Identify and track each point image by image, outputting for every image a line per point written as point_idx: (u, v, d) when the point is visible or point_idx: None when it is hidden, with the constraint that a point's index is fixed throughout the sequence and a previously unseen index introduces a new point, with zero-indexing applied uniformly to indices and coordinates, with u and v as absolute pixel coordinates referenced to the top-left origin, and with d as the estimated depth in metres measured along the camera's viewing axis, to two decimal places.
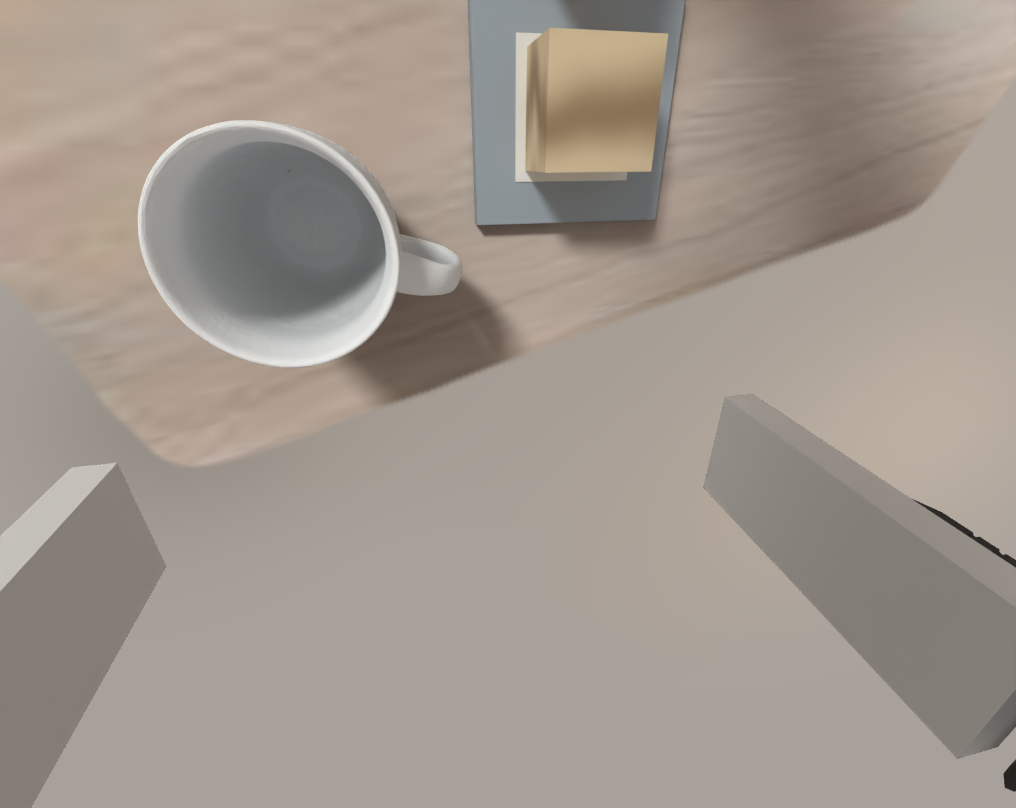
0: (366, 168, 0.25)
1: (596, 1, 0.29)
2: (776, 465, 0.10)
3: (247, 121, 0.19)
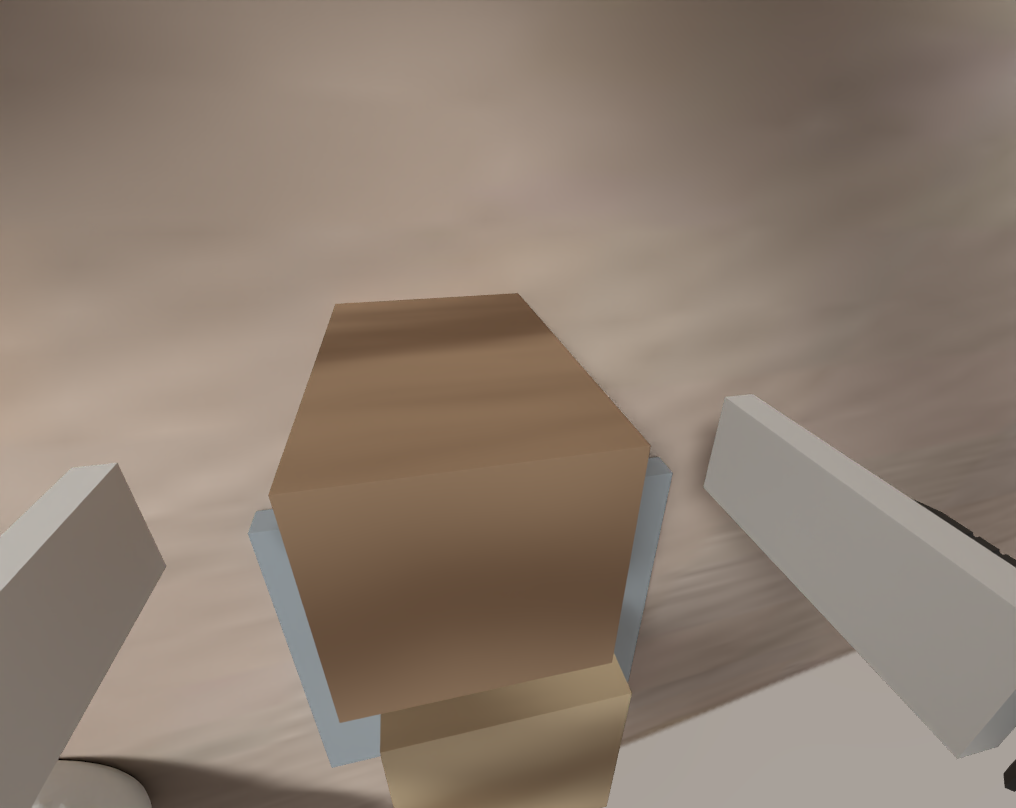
0: None
1: None
2: (776, 465, 0.10)
3: None
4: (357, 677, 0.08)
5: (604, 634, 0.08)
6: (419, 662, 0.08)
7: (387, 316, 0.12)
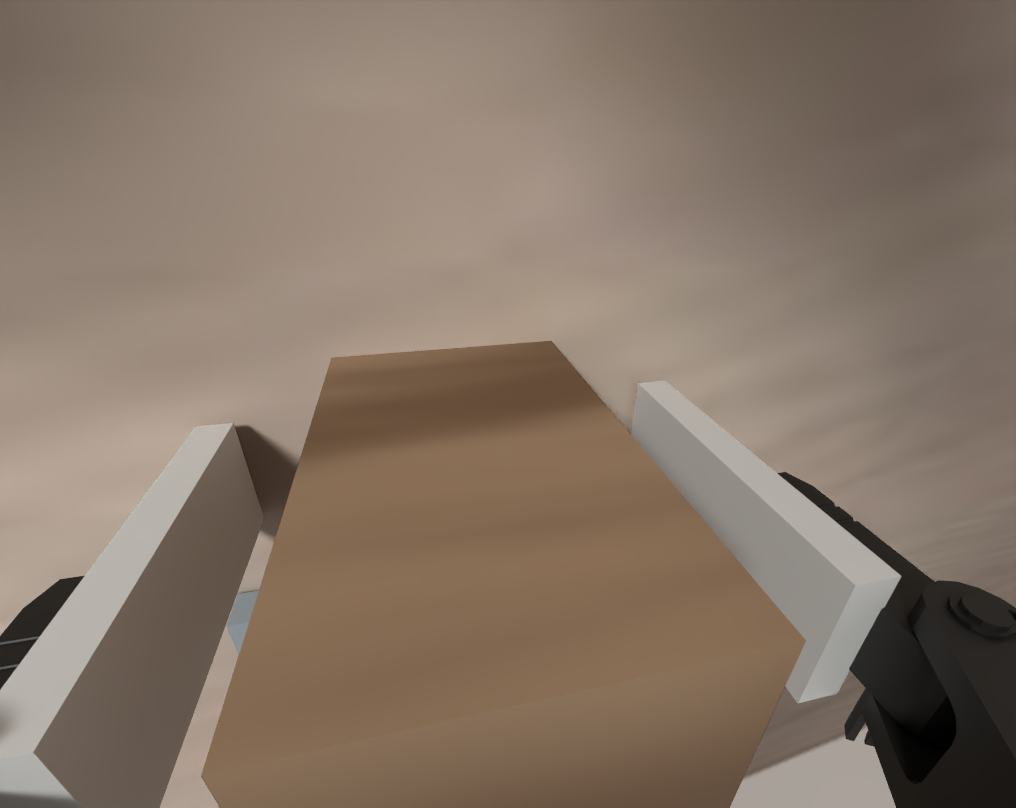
0: None
1: None
2: (674, 445, 0.10)
3: None
4: None
5: None
6: None
7: (395, 377, 0.09)
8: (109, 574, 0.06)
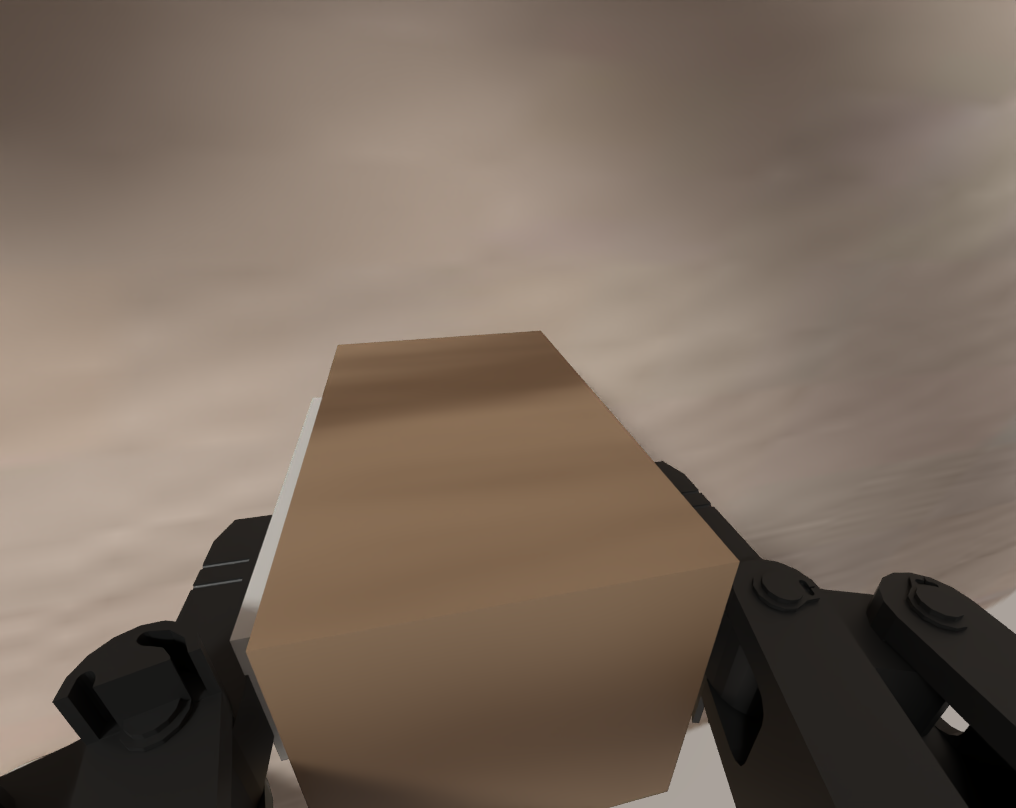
0: None
1: None
2: None
3: None
4: None
5: (661, 764, 0.07)
6: None
7: (396, 362, 0.10)
8: None
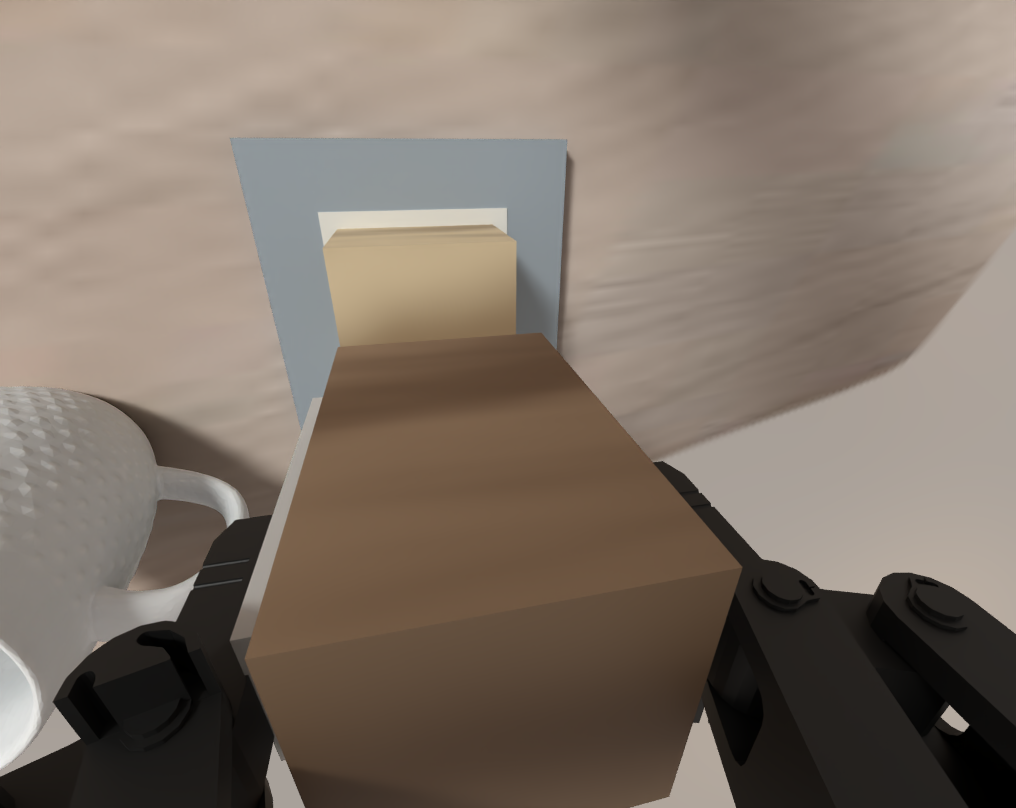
0: (29, 474, 0.16)
1: (434, 166, 0.20)
2: None
3: None
4: None
5: (663, 769, 0.07)
6: None
7: (396, 364, 0.10)
8: None
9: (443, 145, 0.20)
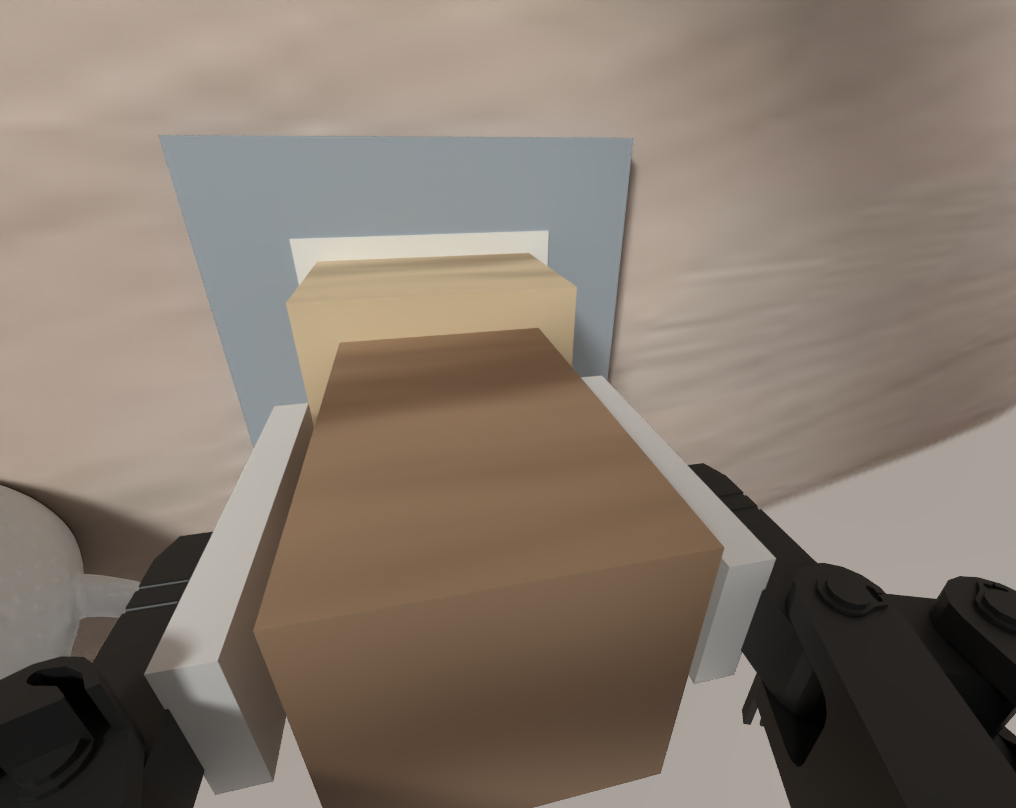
0: None
1: (451, 175, 0.15)
2: None
3: None
4: None
5: (654, 746, 0.07)
6: (438, 791, 0.06)
7: (396, 358, 0.10)
8: (236, 527, 0.07)
9: (464, 146, 0.14)
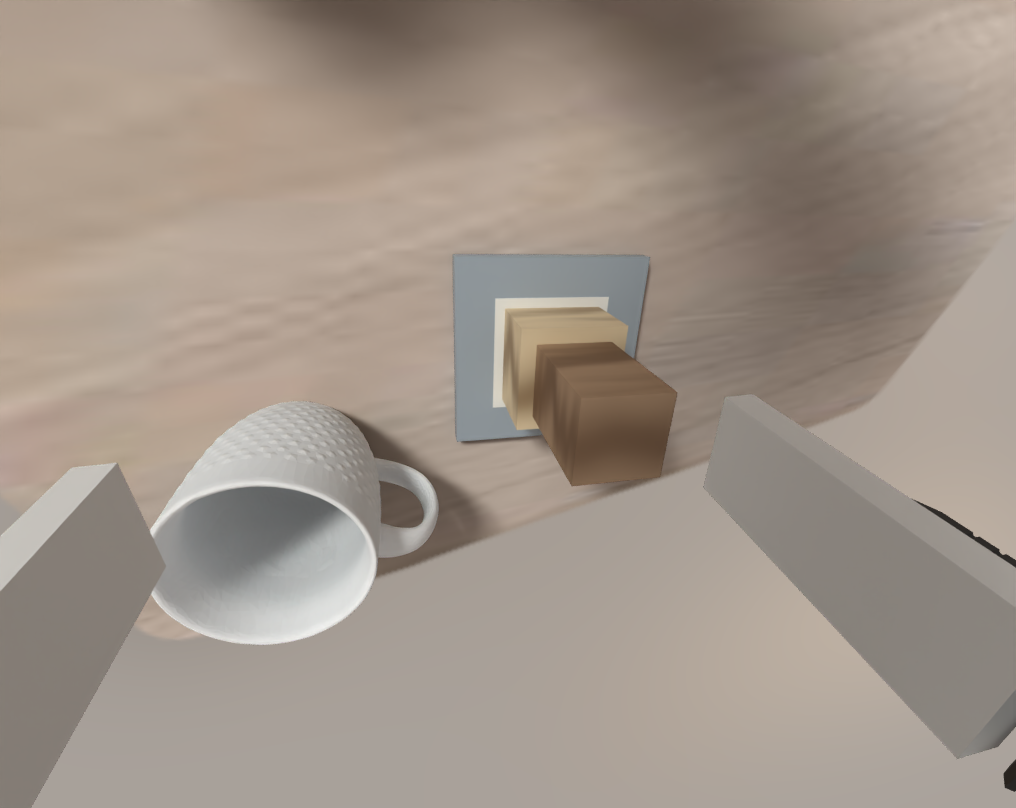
0: (352, 454, 0.27)
1: (568, 272, 0.33)
2: (776, 465, 0.10)
3: (245, 481, 0.22)
4: (582, 467, 0.24)
5: (658, 462, 0.25)
6: (601, 463, 0.24)
7: (564, 351, 0.28)
8: None
9: (575, 260, 0.32)
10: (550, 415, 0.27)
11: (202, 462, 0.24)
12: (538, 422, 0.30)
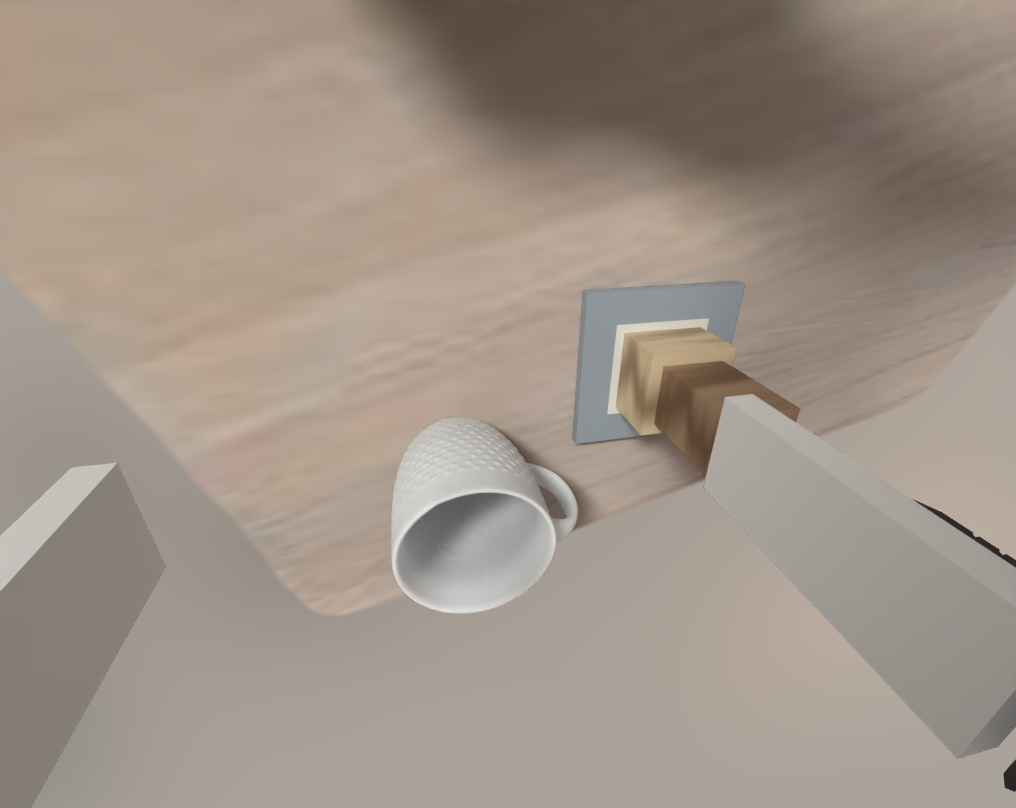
0: (522, 462, 0.34)
1: (677, 300, 0.39)
2: (776, 465, 0.10)
3: (474, 489, 0.28)
4: None
5: None
6: None
7: (689, 372, 0.34)
8: None
9: (684, 290, 0.38)
10: (682, 425, 0.34)
11: (420, 474, 0.31)
12: (663, 429, 0.36)
